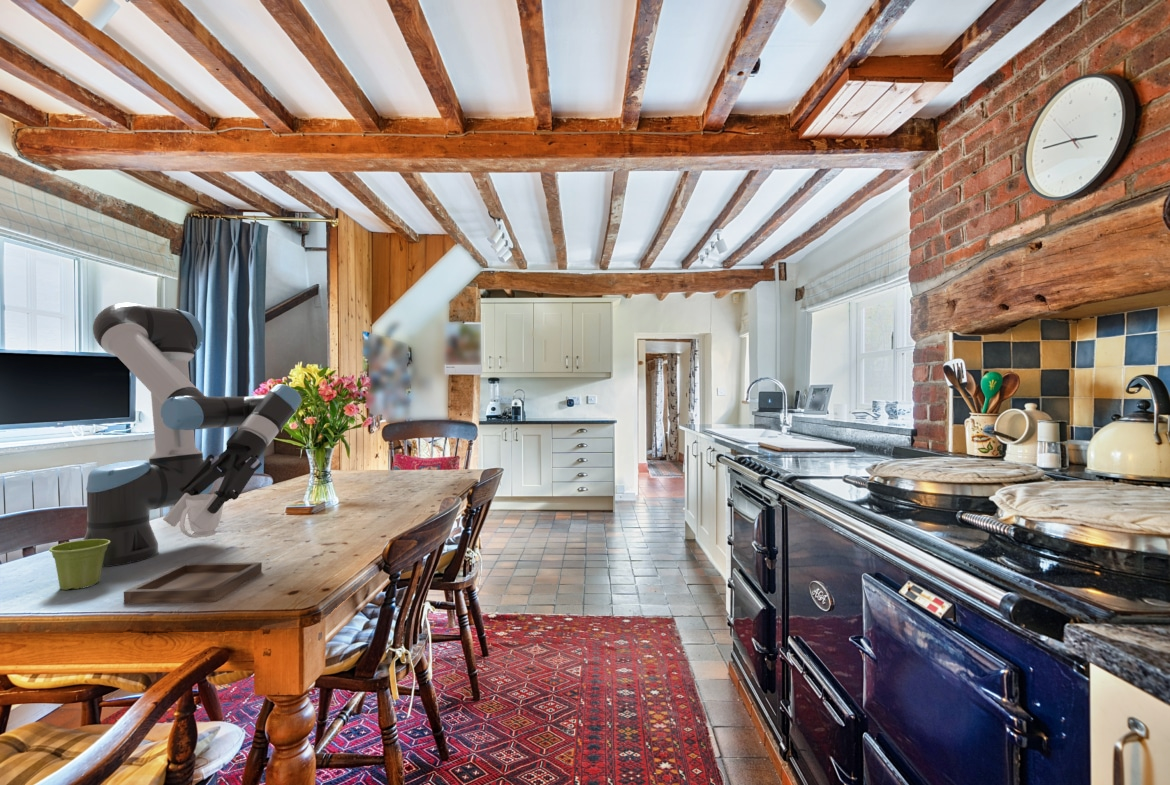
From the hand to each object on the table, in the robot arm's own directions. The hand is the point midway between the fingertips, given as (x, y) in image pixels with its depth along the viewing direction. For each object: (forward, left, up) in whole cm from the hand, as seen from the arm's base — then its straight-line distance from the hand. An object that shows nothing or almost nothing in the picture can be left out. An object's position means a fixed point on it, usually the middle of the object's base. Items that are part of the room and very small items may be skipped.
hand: (182, 524), depth 109 cm
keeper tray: (+2, +2, -14) cm, 14 cm away
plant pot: (-20, +15, -14) cm, 29 cm away
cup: (+2, +2, -4) cm, 5 cm away
